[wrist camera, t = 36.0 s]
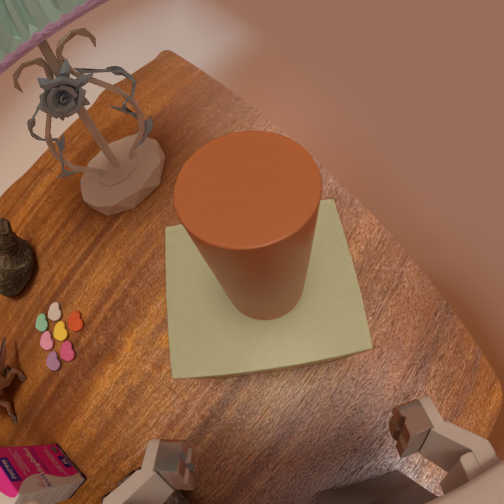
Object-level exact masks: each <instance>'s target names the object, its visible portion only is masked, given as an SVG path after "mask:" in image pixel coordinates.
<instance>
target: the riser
mask: <svg viewBox="0 0 504 504" xmlns="http://www.w3.org/2000/svg"><path fill="white" fill-rule="evenodd" d="M319 495H320V504H425V503H427V502H429V501H432V500H434V499H436V498H438V497H437V496H436V495H434V494H432V493H431V492H429V491H428V490H426V489H425V488H423V487H422V486H420V485H419V484H417V483H416V482H414V481H413V480H412V479H410V478H409V477H407V476H406V475H404V474H403V473H402V472H400V471H399V470H397V471H394V472H391V473H388V474H385V475H382V476H379V477H376V478H373V479H370V480H366V481H363V482H359V483H355V484H352V485H348V486H344V487H340V488H335V489H331V490H326V491H321V492H319Z"/></svg>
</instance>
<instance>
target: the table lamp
mask: <svg viewBox="0 0 504 504" xmlns="http://www.w3.org/2000/svg"><path fill="white" fill-rule="evenodd" d="M107 1H108V0H0V74H2V73H3V72H4V71H5V70H7V69H8V68H9V67H10V66H11V65H13V64H14V63H15V62H16V61H18V60H19V59H20V58H22V57H23V56H24V55H25V54H27V53H28V52H29V51H31V50H32V49H34V48H35V47H36V46H38V47H39V48H40V50H41V52H42V54H43V56H44V57H45V59H46V61H47V63H48V64H47V63H46V62H45V61H44V60H43V59H42V58H37V59H34V60H31V61H28V62H25V63H22V64H21V65H20V66H19V68H18V69H17V70H16V71H15V73H14V74H13V80H14V87H15V88H16V89H18V90H19V91H21V92H22V90H21V88H20V85H19V83H18V81H17V79H18V77H19V75H20V73H21V72H22V70H23V68H25V67H28V66H31V65H33V64H36V65H39V66H41V67H44V70H45V73H46V76H47V79H46V78H37V79H38V82H39V84H40V87H41V88H43V89H44V90H45V91H44V93H42V94H41V95H40V103H39V105H38V107H37V110H36V112H35V114H34V115H33V117H32V118H31V119H29V120H28V122H27V124H28V130H29V131H30V133H31V136H32V137H34V138H35V139H37V140H43V141H46V142H47V145H48V147H49V149H50V151H51V153H52V155H53V157H55V158H56V159H57V160H59V161H60V162H62V171H63V172H65V173H63V174H61V175H59V176H57V177H66V176H69V175H72V174H75V173H78V172H84V174H83V176H82V178H81V180H80V184H81V191H82V197H83V200H84V201H85V202H86V203H87V205H88V206H89V207H90V208H92V209H94V210H96V211H98V212H100V213H102V214H104V215H107V216H110V215H113V214H116V213H120V212H124V211H127V210H131V209H134V208H135V207H136V206H137V205H138V204H139V203H140V202H141V201H143V200H144V199H145V198H146V197H147V196H148V195H149V194H150V193H151V192H152V191H153V190H155V189H156V188H157V187H158V186H159V185H160V181H161V176H162V171H163V167H164V162H165V158H166V156H165V155H164V153H163V151H162V149H161V147H160V145H159V143H158V142H157V140H154V139H151V138H149V137H147V135H148V133H149V132H150V131H152V129H153V123H152V119H151V116H150V117H149V118H148V120H147V121H146V120H145V119H144V115H143V112H142V110H141V109H140V107H139V105H138V103H137V101H136V99H135V98H133V95H134V92H135V87H136V81H135V79H134V78H133V77H132V76H131V75H130V74H129V73H127V72H126V71H125V70H124V69H123V68H121V67H118V66H111V67H108V68H106V69H83V68H82V69H81V68H74V69H75V70H76V71H78V72H76V71H74V69H73V68H72V67H71V66H70V64H69V63H68V60H67V59H65V58H64V57H63V56H62V55H61V53H62V50H63V47H64V45H65V44H66V43H67V42H68V41H69V40H70V39H71V38H73V37H74V36H75V35H76V34H78V35H82V36H85V37H89V38H90V40H91V42H92V43H93V45H94V46H95V47H96V41H95V40H96V39H95V37H94V36H93V35H92V34H91V33H90V32H89V31H87V30H86V29H85V28H82V29H77V30H72V31H69V32H68V33H67V34H66V35H65V36H64V37H63V38H62V39H61V40H59V41H58V44H57V48H56V54H57V59H58V61H57V59H56V57H55V55H54V53H53V52H52V50H51V48H50V46H49V44H48V42H47V40H46V39H47V38H49V37H50V36H52V35H53V34H55V33H56V32H58V31H59V30H61V29H62V28H64V27H65V26H67V25H68V24H70V23H72V22H73V21H75V20H76V19H78V18H80V17H81V16H83V15H84V14H86V13H88V12H89V11H91V10H93V9H95V8H96V7H98V6H100V5H102V4H103V3H105V2H107ZM97 72H112V73H114V74H115V75H123V76H125V77H126V78H128V79H130V80H132V81H133V84H132V92H131V95H129V94H127V93H126V92H125V91H123V90H122V89H120V88H119V87H117V86H114V85H111V84H109V83H106V82H103V81H101V80H98V79H96V78H93V77H92V76H93V73H97ZM53 73H54V75H55V77H56V78H55V79H54V76H53ZM70 73H71V74H72V75H74V76H76V77H77V79H72V78H69V77H70ZM83 73H91V74H87V75H84V74H83ZM88 82H90V83H93V84H95V85H98V86H101V87H103V88H106V89H108V90H111V91H113V92H116V93H118V94H121V95H122V96H123V97H124V98H125V99H126V101H125V102H124V103H123V105H122V107H123V108H122V107H116V106H111V105H110V106H111V107H113V108H114V109H117V110H119V111H122V112H124V113H126V114H128V113H129V114H130V115H132V116H133V117H135V118H136V119H137V120H138V127H139V131H138V133H136V134H133V135H131V136H128V137H125V138H122V139H119V140H117V141H114V142H112V143H109V144H107V143H106V141H105V139H104V138H103V136H102V135H101V133H100V132H99V130H98V128H97V127H96V125H95V124H94V122H93V120H92V119H91V117H90V115H89V114H88V112H87V111H86V109H85V107H84V106H85V105H89V104H90V103H89V101H88V100H87V99H86V98H85V93H86V91H85V90H84V89H82V88H81V87H82V86H84V85H85V84H87V83H88ZM22 93H23V92H22ZM126 102H129V104H130V105H131V106H132V107H133V108H134V109H135V110H136V112H137V114H136V113H134V112H132V111H130V110H129V109H128V108H127V107H126ZM39 109H41V111H44V112H45V113H47V118H46V130H45V139H42V138H41V137H39V136H37V135H36V134H34V133H33V131H32V128H33V127H34V126H35V116H36V114H37V112H38V111H39ZM75 113H78V115H79V117H80V118H81V120H82V121H83V123H84V124H85V126H86V128H87V129H88V131H89V132H90V134H91V135H92V137H93V138H94V140H95V141H96V143H97V144H98V146H99V147H100V149H101V151H100V152H99V153H98V154H97V155H96V156H95V157H94V158H93V159H92V160H91V161H90V162H89V163H88V165H87V167H83V166H75V165H73V164H72V163H70V162H69V161H68V160H66V159H65V158H64V157H63V154H62V150H63V149H64V148H65V139H64V134H63V135H62V136H61V139H60V142H59V141H58V139H57V138H53V139H52V137H51V134H50V130H51V129H50V128H51V117H54V118H56V119H57V118H58V117H60V119H61V120H62V121H63V120H64V118H65V117H69V116H71V115H73V114H75ZM144 125H145V126H144ZM144 131H145V134H144V135H143V133H144ZM53 141H56V143H57V146H58V149H59V151H60V154H61V155H60V154H58V153H57V152H56V149H55V146H54V143H53ZM64 164H65V165H66V166H67V167H69V168H70V169H72V170H74V171H73V172H71V171H67V170H64Z"/></svg>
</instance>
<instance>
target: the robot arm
mask: <svg viewBox="0 0 504 504" xmlns="http://www.w3.org/2000/svg"><path fill="white" fill-rule="evenodd" d="M392 413H393V416H392V417H391V418H390V421H389V430H390V434H391V436H392V438H393V439H395V440H397V444H396V448H397V451H398V453H399V456H400V458H402V457H405V456H408V455H411V454H414V453H416V452H419V453H420V454H422V455H423V456H425V457H426V458H427V459H429V460H430V461H432V462H433V463H435V464H436V465H438V466H439V467H441V468H442V469H444V470H445V471H447V472H448V473H447V475H446V476H445V477H444V478H443V479H442V481H441V483H440V485H441V487H442V490H443V492H444V495H442V496H440V497H438V498H436V499H434V500H432V501H429V502H427V503H425V504H504V459H503V460H501V461H500V460H499V458H498V456H497V454H496V453H495V451H494V449H493V447H492V446H491V444H490V442H489V441H488V440H487V439H485V438H483V437H480V436H478V435H476V434H474V433H472V432H469V431H467V430H465V429H463V428H461V427H459V426H457V425H454V424H452V423H450V422H448V421H447V422H444V420H443V418H442V417H441V415H440V413H439V412H438V410H437V408H436V407H435V405H434V403H433V402H432V400H431V398H430V397H429V396H428V395H426V396H423V397H420V398H418V399H415V400H412V401H409V402H407V403H404V404H401V405H398V406H395V407H394V408H393V410H392ZM195 469H196V456H195V453H194V451H193V449H191V448H189V443H188V442H187V440H170V439H150V440H149V441H148V444H147V447H146V451H145V455H144V459H143V463H142V467H141V470H137V471H136V472H134V473H133V474H132V475H131V476H130V477H129V478H128V479H127V480H125V481H124V482H123V483H122V484H121V485H120V486H118V487H117V488H116V489H115V490H114V491H113V492H111V493H110V494H109V495H108V496H107V497H105V498H104V499H103V502H102V504H163V503H164V502H165V501H166V500H167V499H168V497H169V496H170V495H171V494H172V493H173V491H174V490H193V488H194V480H195V477H194V476H193V474H192V472H193V471H194V470H195ZM173 489H174V490H173ZM24 504H44V503H42V502H40V501H37V500H31V501H28V502H26V503H24Z"/></svg>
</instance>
